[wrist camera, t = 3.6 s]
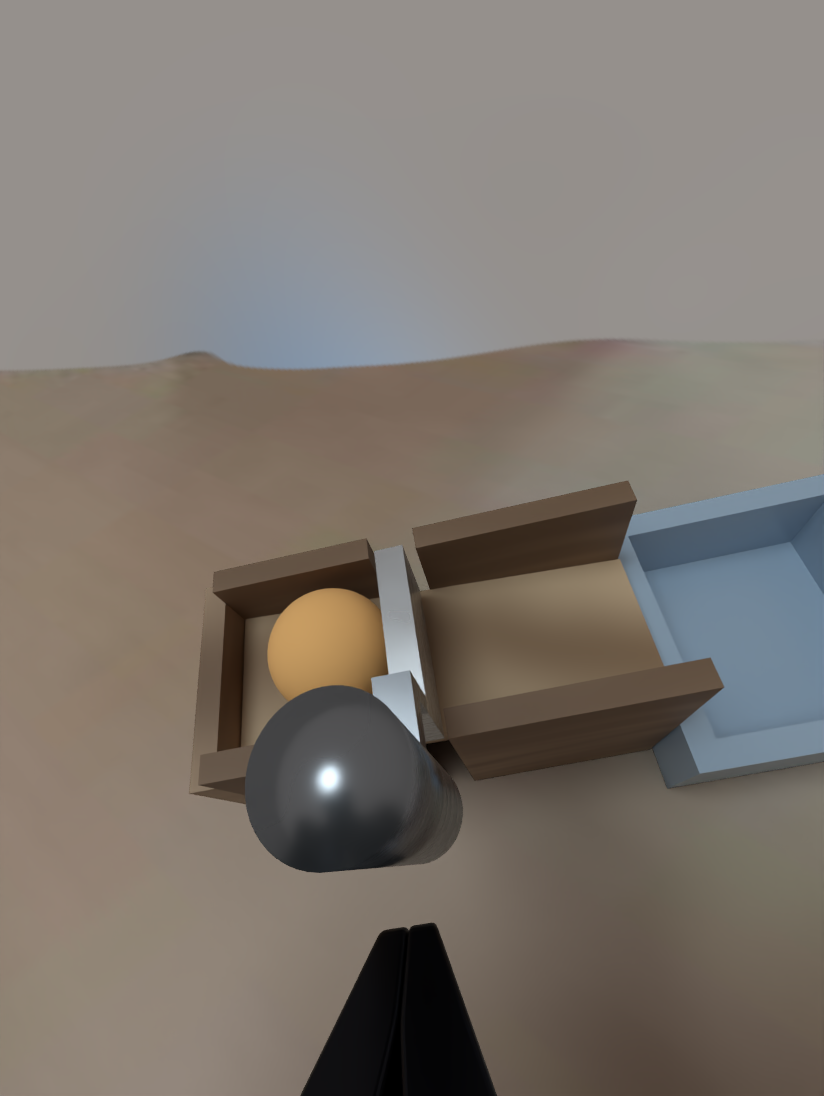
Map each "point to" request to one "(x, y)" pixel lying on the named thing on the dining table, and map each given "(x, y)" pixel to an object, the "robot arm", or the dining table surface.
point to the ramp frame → (472, 641)
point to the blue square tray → (738, 624)
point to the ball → (327, 643)
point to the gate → (360, 757)
